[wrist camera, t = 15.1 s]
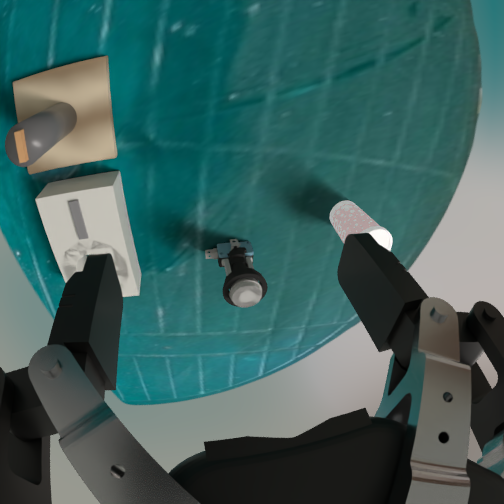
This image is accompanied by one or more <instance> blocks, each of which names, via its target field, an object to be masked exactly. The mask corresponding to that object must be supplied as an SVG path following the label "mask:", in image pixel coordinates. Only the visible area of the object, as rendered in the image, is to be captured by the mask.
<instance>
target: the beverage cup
mask: <svg viewBox="0 0 504 504" xmlns="http://www.w3.org/2000/svg"><path fill="white" fill-rule="evenodd" d="M329 218H330V222H331V224H332V225H333V227H334V228H335V230H336V232H337V233H338V235H339V236H340V238H341V240H342V241H343V243H345V239H346V237H347V235H348V234H357V233H369V234H370V235H371V236H372V237H373V238H374V239H375V240H376V241H377V243H378V244H379V245H381V246H383V247H384V248H386V249H387V250H389V251H390V250H391V247H392V243H393V242H392V236H391V234H390V233H389V232H388V231H387V230H386V229H385V228H383V227H381V226H379V225H378V224H377V223H376V222H375V221H374V220H373V219H372V218H370V217H369V216H368V215H367V214H366V213H365V212H364V211H363V210H361V209H360V208H359V207H358V206H357V205H356V204H354V203H353V202H351V201H349V200H346V201H341V202H339V203H337V204H336V205H335V206H334V207H333V208H332V210H331V212H330V217H329Z"/></svg>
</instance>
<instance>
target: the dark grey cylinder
mask: <svg viewBox="0 0 504 504" xmlns="http://www.w3.org/2000/svg"><path fill="white" fill-rule="evenodd" d="M76 122H77V114H76V111H75V109H74V108H73V107H72V106H71V105H70V104H68V103H64V102H62V103H57V104H55V105H53V106H51V107H49V108H47V109H45V110H43V111H41V112H39V113H37V114H35V115H33V116H31V117H29V118H27V119H25V120H23V121H21V122H20V123H18V124H16V125H14V126H13V127H12V128H11V129H10V130H9V132H8V134H7V136H6V141H5V149H6V153H7V155H8V157H9V159H10V160H11V161H12V162H13V163H14V164H15V165H17V166H21V167H27V166H30V165H32V164H33V163H35V162H36V161H37V160H38V159H39V158H40V157H41V156H43V155H44V154H45V153H46V152H47V151H48V150H50V149H51V148H52V147H53V146H54V145H55V144H57V143H58V142H59V141H60V140H62V139H63V138H64V137H65V136H67V135H68V134H69V133H70V132H71V131H72V130H73V129H74V128H75V126H76Z"/></svg>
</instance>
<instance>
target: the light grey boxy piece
mask: <svg viewBox="0 0 504 504" xmlns="http://www.w3.org/2000/svg"><path fill="white" fill-rule="evenodd" d="M35 200H36V203H37V206H38V210H39V213H40V216H41V219H42V222H43V225H44V228H45V231H46V234H47V237H48V239H49V242H50V245H51V248H52V250H53V253H54V256H55V258H56V261H57V263H58V266H59V268H60V271H61V273H62V275H63V278H64V280H65V283H66V282H67V281H68V280H69V279H70V278H71V276H72V275H73V274H74V273H75V272H79V271H83V268H84V265H85V262H86V259H87V256H86V255H90V254H106V253H110V254H111V255H112V258H113V261H114V265H115V269H116V272H117V276H118V279H119V283H120V286H121V290H122V296H123V297H127V296H137V295H139V292H140V282H141V271H140V267H139V263H138V259H137V255H136V250H135V246H134V242H133V237H132V233H131V228H130V223H129V218H128V213H127V208H126V203H125V198H124V192H123V187H122V181H121V175H120V171H113V172H106V173H100V174H94V175H88V176H82V177H77V178H71V179H66V180H61V181H55V182H51V183H48V184H47V185H46V186H45V188H44V189H43V190H42V191H41V193H40V194H39V195H38V196H37V198H36V199H35Z"/></svg>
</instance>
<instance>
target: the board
mask: <svg viewBox="0 0 504 504" xmlns="http://www.w3.org/2000/svg"><path fill="white" fill-rule="evenodd" d="M13 90H14V98H15V106H16V113H17V119H18V123H20V122H21V121H23V120H25V119H27V118H29V117H31V116H33V115H35V114H37V113H39V112H41V111H43V110H45V109H47V108H49V107H51V106H53V105H55V104H57V103H62V102H64V103H68V104H70V105H71V106H72V107H73V108H74V109H75V111H76V114H77V122H76V126H75V128H74V129H73V130H72V131H71V132H70V133H69V134H68V135H67V136H65V137H64V138H63V139H62V140H60V141H59V142H58V143H57V144H55V145H54V146H53V147H52V148H51V149H50V150H48V151H47V152H46V153H45V154H44V155H43V156H41V157H40V158H39V159H38V160H37V161H36V162H35V163H33V164H32V165H30V166H27V168H28V172H29V174H34V173H38V172H42V171H47V170H51V169H56V168H61V167H66V166H71V165H76V164H81V163H87V162H93V161H98V160H105V159H111V158H116V157H117V148H116V141H115V133H114V125H113V116H112V106H111V95H110V83H109V68H108V56H103V57H99V58H94V59H89V60H85V61H81V62H77V63H73V64H69V65H65V66H61V67H58V68H54V69H51V70H48V71H44V72H41V73H38V74H35V75H32V76H29V77H26V78H23V79H20V80H18V81H15V82H13Z"/></svg>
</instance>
